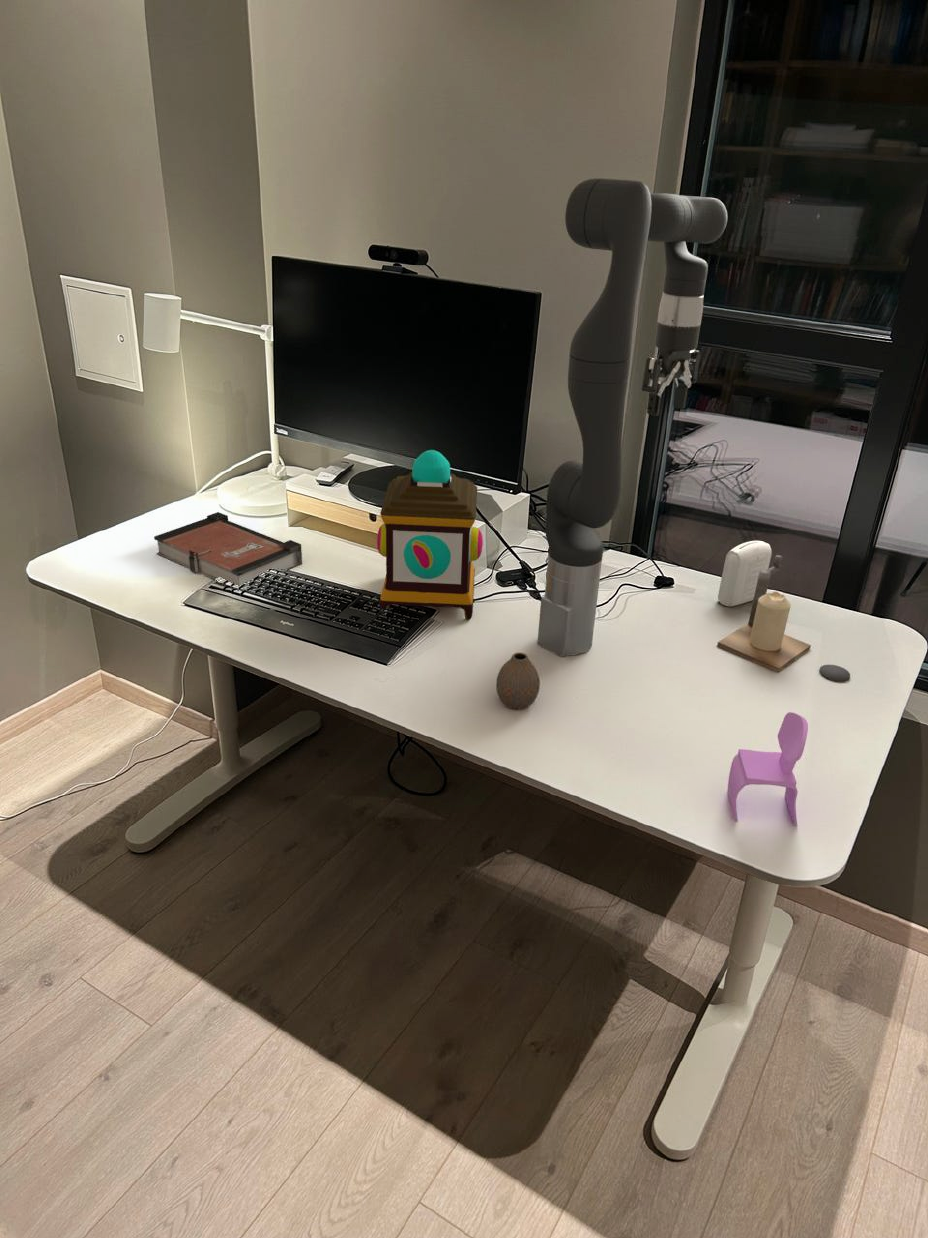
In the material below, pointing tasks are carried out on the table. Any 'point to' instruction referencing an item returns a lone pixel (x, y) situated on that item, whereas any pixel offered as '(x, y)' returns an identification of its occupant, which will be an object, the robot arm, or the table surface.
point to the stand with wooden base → (741, 637)
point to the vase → (518, 682)
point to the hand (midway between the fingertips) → (666, 411)
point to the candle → (770, 622)
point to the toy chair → (771, 764)
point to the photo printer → (743, 572)
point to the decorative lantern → (429, 537)
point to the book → (226, 550)
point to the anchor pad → (834, 673)
